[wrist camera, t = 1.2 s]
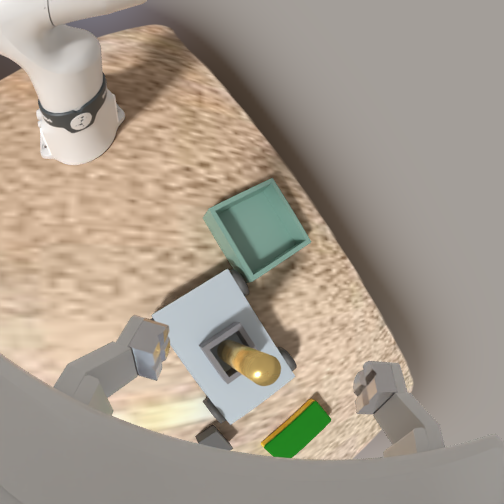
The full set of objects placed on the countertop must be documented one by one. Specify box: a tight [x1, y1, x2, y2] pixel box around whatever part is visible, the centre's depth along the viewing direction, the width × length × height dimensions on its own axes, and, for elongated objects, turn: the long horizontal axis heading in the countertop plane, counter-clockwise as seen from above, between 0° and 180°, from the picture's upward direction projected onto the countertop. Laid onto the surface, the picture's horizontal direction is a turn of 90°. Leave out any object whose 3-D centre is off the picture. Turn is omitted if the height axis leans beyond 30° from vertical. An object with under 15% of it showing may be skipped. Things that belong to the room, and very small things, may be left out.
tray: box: [203, 178, 311, 283], centre depth 50 cm, size 14×14×5 cm
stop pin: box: [217, 340, 281, 386], centre depth 35 cm, size 4×4×15 cm
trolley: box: [150, 269, 296, 425], centre depth 43 cm, size 22×16×8 cm
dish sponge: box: [261, 399, 331, 458], centre depth 47 cm, size 7×14×2 cm, turn 128°
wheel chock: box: [196, 425, 233, 450], centre depth 41 cm, size 5×4×3 cm
